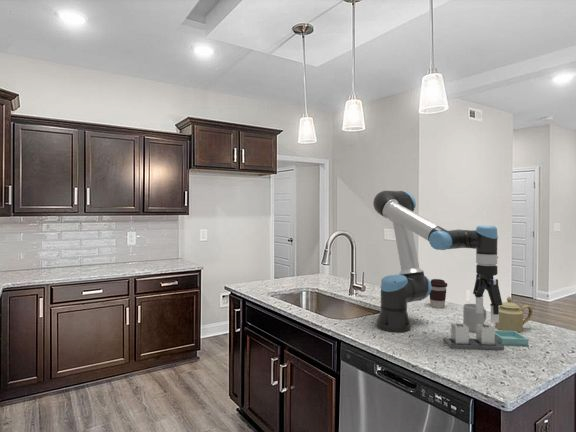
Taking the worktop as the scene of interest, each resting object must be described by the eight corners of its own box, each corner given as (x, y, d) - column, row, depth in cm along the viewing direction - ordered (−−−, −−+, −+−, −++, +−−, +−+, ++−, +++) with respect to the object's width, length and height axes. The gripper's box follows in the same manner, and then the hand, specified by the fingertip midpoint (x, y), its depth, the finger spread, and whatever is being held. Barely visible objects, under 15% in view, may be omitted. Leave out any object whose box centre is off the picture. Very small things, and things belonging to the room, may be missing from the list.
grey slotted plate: (450, 348, 150) (450, 345, 150) (443, 340, 159) (443, 337, 159) (503, 350, 149) (503, 347, 149) (492, 342, 158) (493, 339, 158)
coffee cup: (441, 310, 206) (442, 282, 206) (424, 306, 214) (424, 279, 213) (450, 307, 213) (450, 280, 212) (433, 303, 220) (433, 277, 220)
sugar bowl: (509, 322, 184) (510, 291, 184) (533, 329, 174) (534, 296, 174) (489, 327, 177) (490, 295, 177) (513, 334, 167) (513, 300, 167)
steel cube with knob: (481, 347, 151) (481, 327, 151) (476, 343, 156) (476, 323, 156) (494, 348, 151) (495, 327, 151) (488, 343, 156) (489, 323, 156)
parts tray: (501, 345, 154) (502, 338, 154) (490, 336, 164) (490, 330, 164) (528, 346, 153) (528, 339, 153) (515, 337, 163) (515, 331, 163)
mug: (474, 334, 168) (475, 309, 167) (458, 328, 175) (459, 304, 175) (493, 330, 173) (493, 306, 172) (477, 325, 180) (477, 302, 180)
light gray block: (455, 347, 152) (455, 326, 152) (451, 342, 157) (451, 322, 157) (468, 347, 151) (468, 326, 151) (463, 343, 156) (463, 322, 156)
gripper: (512, 269, 140) (512, 326, 140) (482, 260, 165) (482, 309, 165) (491, 269, 140) (491, 326, 141) (464, 260, 165) (464, 309, 166)
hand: (486, 317), depth 153 cm, fingers open, 13 cm apart
